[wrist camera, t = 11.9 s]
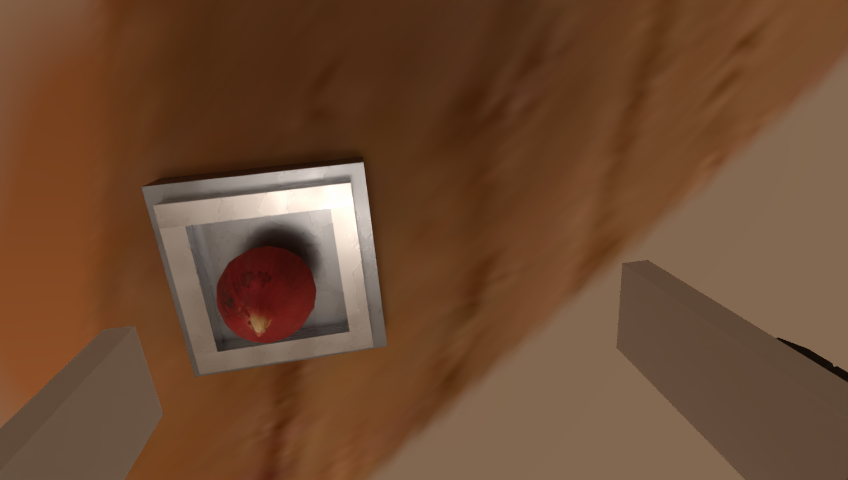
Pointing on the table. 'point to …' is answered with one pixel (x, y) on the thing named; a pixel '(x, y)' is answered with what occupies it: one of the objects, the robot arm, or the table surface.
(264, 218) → the silver shallow square tray
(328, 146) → the table surface
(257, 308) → the onion
